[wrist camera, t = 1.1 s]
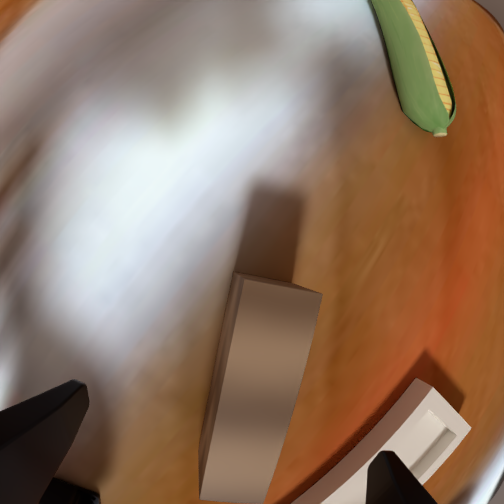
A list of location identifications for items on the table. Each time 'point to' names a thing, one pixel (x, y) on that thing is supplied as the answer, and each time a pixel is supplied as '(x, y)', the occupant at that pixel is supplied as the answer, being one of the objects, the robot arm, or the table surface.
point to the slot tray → (395, 445)
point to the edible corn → (416, 67)
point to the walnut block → (254, 386)
